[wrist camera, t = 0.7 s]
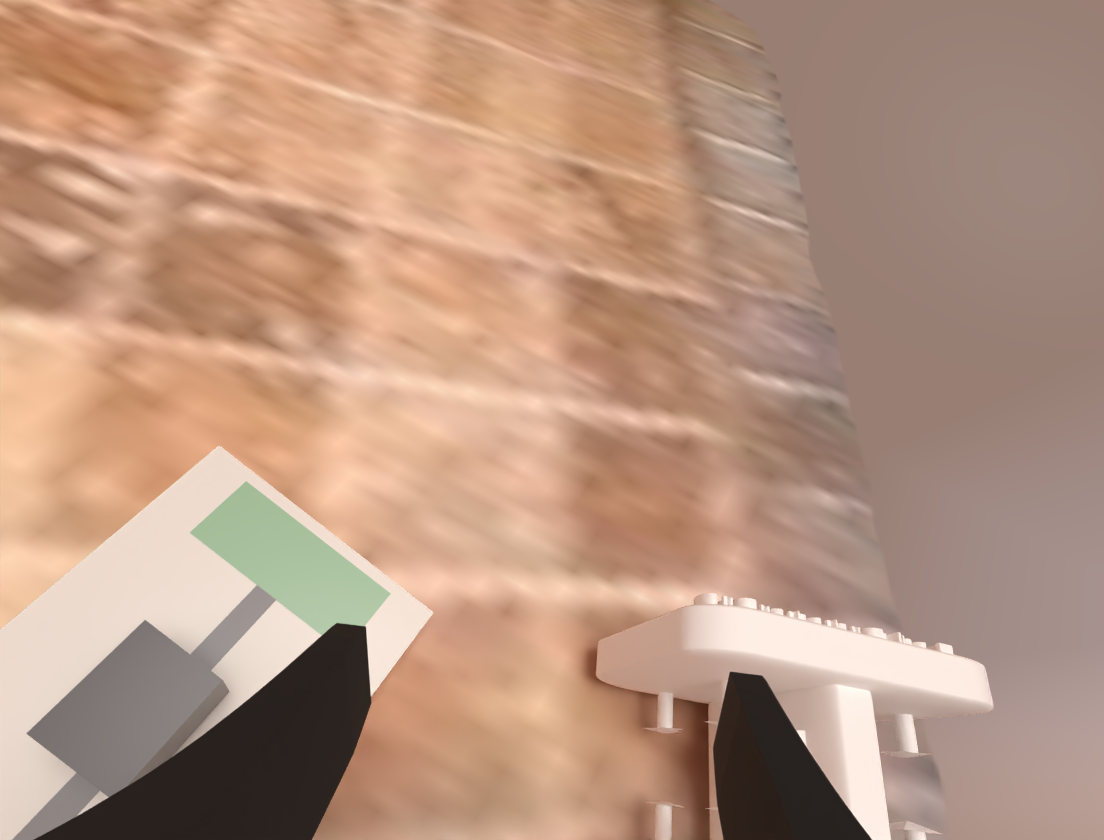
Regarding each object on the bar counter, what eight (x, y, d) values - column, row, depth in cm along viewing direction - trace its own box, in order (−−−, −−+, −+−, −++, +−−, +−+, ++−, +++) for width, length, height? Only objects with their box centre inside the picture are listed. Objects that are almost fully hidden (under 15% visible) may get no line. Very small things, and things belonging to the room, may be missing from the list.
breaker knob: (136, 796, 22) (113, 800, 19) (61, 738, 22) (26, 733, 19) (229, 691, 24) (222, 679, 21) (161, 638, 24) (145, 619, 21)
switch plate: (6, 1181, 19) (-26, 1231, 17) (-315, 934, 19) (-387, 954, 17) (422, 622, 30) (433, 612, 28) (222, 467, 30) (219, 445, 28)
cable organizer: (561, 884, 28) (712, 945, 18) (582, 634, 33) (707, 579, 24) (843, 910, 32) (1090, 972, 22) (821, 682, 37) (1012, 652, 27)
